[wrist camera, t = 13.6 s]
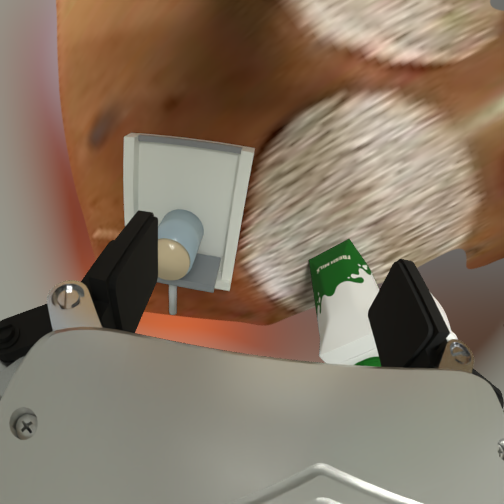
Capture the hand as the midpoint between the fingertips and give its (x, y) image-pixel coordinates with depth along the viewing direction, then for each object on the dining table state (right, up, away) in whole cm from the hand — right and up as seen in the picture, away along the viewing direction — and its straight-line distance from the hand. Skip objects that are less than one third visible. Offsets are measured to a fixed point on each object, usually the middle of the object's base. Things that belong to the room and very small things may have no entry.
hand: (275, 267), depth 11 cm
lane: (-10, +7, +30) cm, 32 cm away
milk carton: (+13, -1, +34) cm, 36 cm away
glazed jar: (-11, +4, +31) cm, 33 cm away
